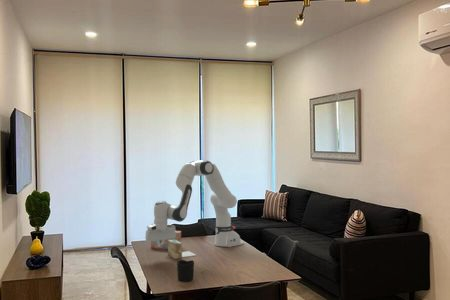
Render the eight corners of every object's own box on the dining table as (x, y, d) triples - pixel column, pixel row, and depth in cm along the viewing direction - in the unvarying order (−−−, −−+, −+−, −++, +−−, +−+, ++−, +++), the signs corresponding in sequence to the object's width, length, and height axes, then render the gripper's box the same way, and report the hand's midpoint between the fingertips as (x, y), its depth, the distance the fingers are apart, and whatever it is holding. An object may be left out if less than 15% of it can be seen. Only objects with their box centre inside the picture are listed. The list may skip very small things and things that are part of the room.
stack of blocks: (150, 248, 315) (150, 231, 315) (153, 246, 321) (153, 229, 321) (179, 249, 312) (179, 232, 312) (181, 247, 318) (181, 230, 318)
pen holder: (187, 276, 248) (187, 258, 248) (197, 279, 241) (197, 262, 241) (173, 279, 242) (173, 261, 242) (183, 283, 235) (183, 265, 235)
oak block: (175, 254, 299) (174, 239, 298) (181, 257, 288) (181, 242, 288) (168, 254, 296) (168, 240, 296) (174, 258, 286) (174, 243, 285)
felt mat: (188, 251, 304) (188, 251, 304) (196, 255, 293) (196, 254, 293) (175, 253, 299) (175, 252, 299) (182, 257, 288) (182, 256, 288)
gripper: (173, 223, 295) (173, 243, 295) (144, 226, 285) (144, 247, 285) (177, 225, 289) (177, 245, 289) (147, 228, 279) (147, 249, 280)
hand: (160, 246), depth 287 cm, fingers closed
